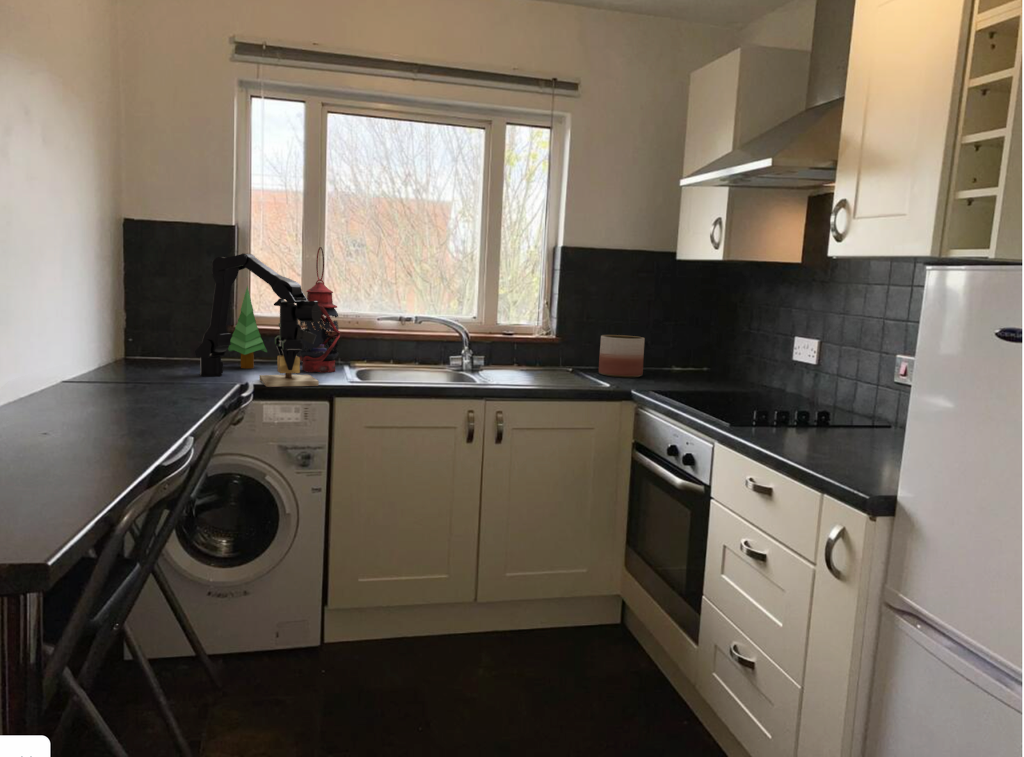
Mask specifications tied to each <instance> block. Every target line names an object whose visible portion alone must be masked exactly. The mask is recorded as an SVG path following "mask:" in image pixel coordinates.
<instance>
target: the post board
mask: <svg viewBox="0 0 1024 757" xmlns="http://www.w3.org/2000/svg"><path fill="white" fill-rule="evenodd" d="M258 378H259V381H260V382H261V381H262V382H263V383H264V384H263V383H262V382H261V383H262V384H263V385H264V386H265V387H269V388H272V387H274V388H275V387H317V386H319V385H320V384H319V383H320V382H319V380H318V379H316V378H314V376H312V375H310V374H293V373H284V374H263V375H262V374H260V375H259V377H258Z"/></svg>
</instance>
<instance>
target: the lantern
mask: <svg viewBox="0 0 1024 757" xmlns="http://www.w3.org/2000/svg"><path fill="white" fill-rule="evenodd" d="M320 251H321V254H322V255H321V256H322V272H321V276H320V277H319V270H318V269H319V267H318V266H319V265H318V264H319V262H318V261H319V253H320ZM324 269H325V256H324V249H323V248H322V247H321V246H320V247H318V250H317V254H316V276H317V280H316V282H315V284H314V285H313V286H312V287H311V288H309V289H307V290H306V291H305V292H306V293H307V296H306V298H307V300H308V301H318V305H319V307H320V309H321V311H322V315H321V319H320V321H319V322H317V323H316V322H302V321H299V325H300V329H302V330H303V329H304V328H307V329H310V331H311V333H312V334H315V335H317V336H316V338H315V341H314V343H313V344H312V343H309V342H307V341H305V340H302V339H300V340H301V341H302V342H303V343H304V349H302V350H301V351H300V352H298V353H299V357H300V362H302V365H301V366H302V368H301V369H302V371H303V370H304V371H303V372H305V371H306V372H305V373H313V372H320V373H334V372H336V360H335V359H336V358H337V357H338V356H339V351H338V350H337V349H339V347H338V346H339V339H340V337H341V331H340V330H339V323H338V319H337V318H339V314H338V312H337V310H336V308H338V306H337V305H336V304H334V302H333V293H334V292H333V290H331V289H329V288H328V287H327V286H326V285H325V282H324V281H323V277H324V272H325V270H324ZM331 317H332V318H335V319H337V320H332V318H331ZM328 332H330V333H328ZM333 332H334V333H336V334H333V335H332V333H333ZM332 340H333V341H332ZM325 346H326V347H325ZM328 347H329V348H328ZM320 373H319V374H320Z"/></svg>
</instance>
